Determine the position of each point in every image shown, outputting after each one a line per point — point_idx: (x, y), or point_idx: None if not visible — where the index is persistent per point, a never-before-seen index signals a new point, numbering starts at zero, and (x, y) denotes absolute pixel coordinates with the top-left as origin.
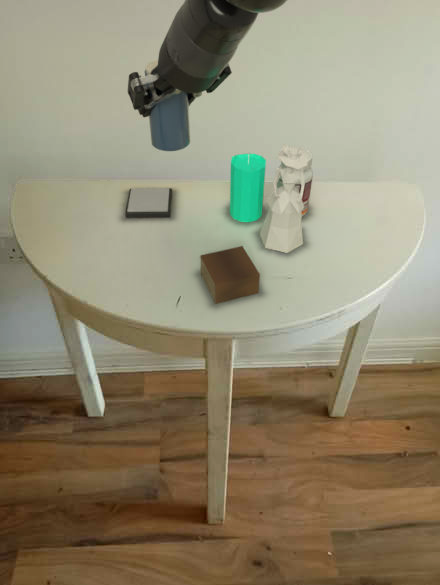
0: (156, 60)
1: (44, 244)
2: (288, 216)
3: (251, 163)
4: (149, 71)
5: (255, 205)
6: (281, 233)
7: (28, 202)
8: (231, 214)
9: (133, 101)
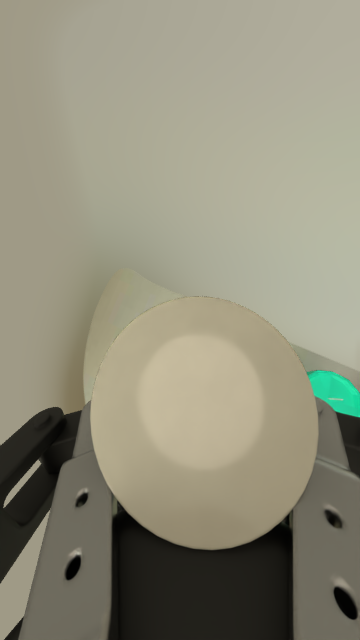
0: (184, 300)
1: (98, 348)
2: None
3: (334, 400)
4: (92, 414)
5: None
6: None
7: (111, 291)
8: None
9: (8, 505)
